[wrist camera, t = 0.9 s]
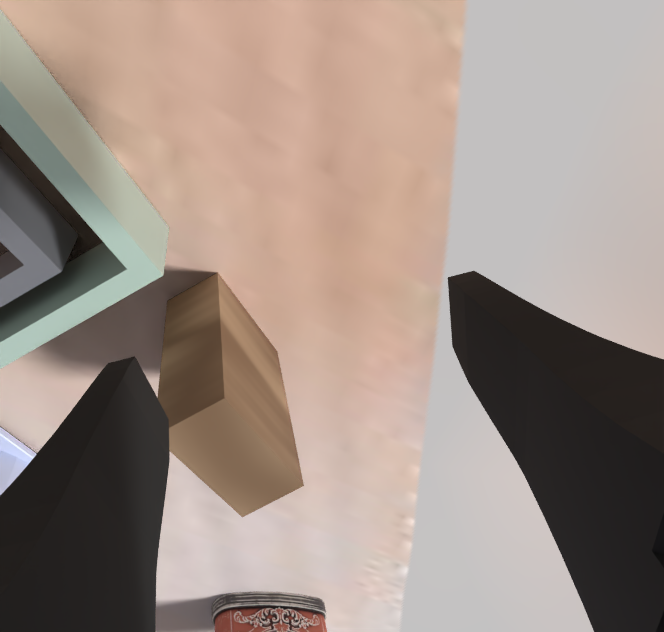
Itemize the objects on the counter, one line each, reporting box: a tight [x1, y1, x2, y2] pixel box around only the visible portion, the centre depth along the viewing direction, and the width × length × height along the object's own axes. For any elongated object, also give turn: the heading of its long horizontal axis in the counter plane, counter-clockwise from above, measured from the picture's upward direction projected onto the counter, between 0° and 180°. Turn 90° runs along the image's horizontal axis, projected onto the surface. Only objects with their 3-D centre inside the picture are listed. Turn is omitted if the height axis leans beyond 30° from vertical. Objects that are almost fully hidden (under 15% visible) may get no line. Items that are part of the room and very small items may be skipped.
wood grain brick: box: [158, 273, 304, 517], centre depth 21 cm, size 2×5×8 cm, turn 26°
